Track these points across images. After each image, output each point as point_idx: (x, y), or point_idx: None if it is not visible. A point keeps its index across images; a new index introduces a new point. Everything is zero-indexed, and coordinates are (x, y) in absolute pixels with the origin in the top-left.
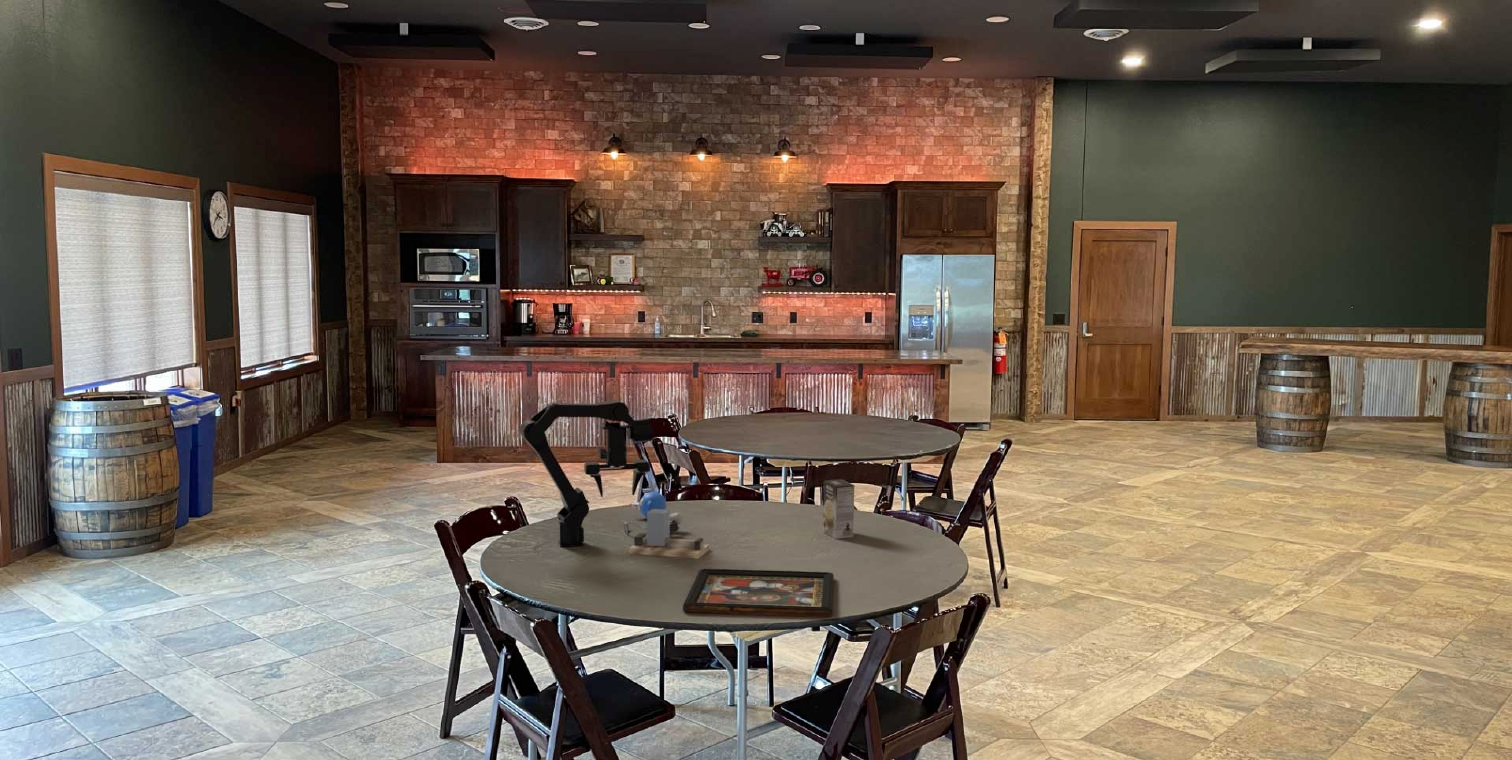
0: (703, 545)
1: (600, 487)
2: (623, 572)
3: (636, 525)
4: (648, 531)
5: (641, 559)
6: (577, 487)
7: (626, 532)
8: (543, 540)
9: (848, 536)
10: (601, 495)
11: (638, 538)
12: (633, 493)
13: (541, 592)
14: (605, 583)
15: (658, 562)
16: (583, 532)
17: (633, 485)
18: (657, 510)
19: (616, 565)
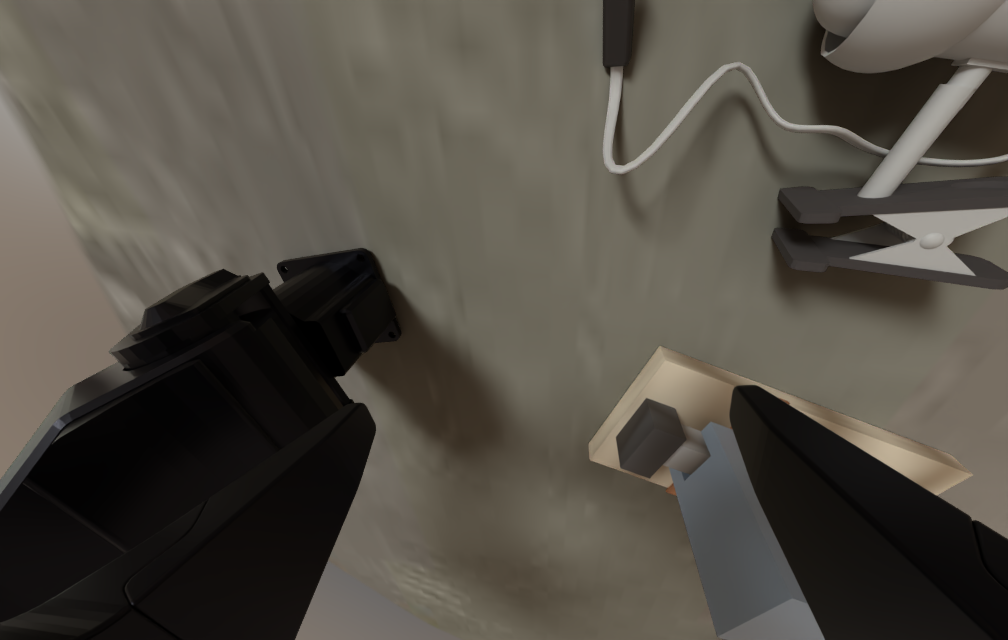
0: (930, 482)
1: (306, 571)
2: (561, 564)
3: (695, 100)
4: (690, 523)
5: (624, 499)
6: (35, 491)
7: (609, 106)
8: (206, 226)
9: None
10: (360, 448)
11: (637, 470)
12: (748, 449)
13: (406, 603)
14: (520, 600)
15: (673, 529)
16: (376, 339)
17: (814, 582)
18: (808, 624)
19: (543, 525)
